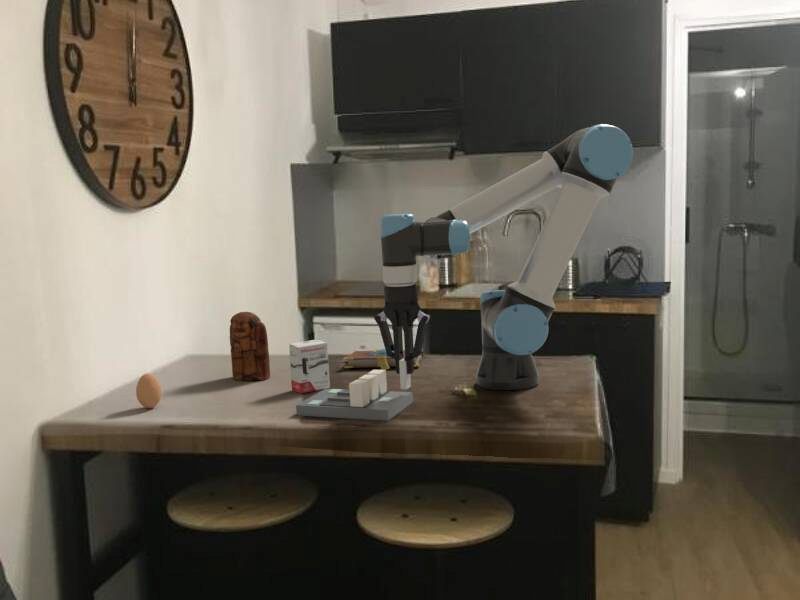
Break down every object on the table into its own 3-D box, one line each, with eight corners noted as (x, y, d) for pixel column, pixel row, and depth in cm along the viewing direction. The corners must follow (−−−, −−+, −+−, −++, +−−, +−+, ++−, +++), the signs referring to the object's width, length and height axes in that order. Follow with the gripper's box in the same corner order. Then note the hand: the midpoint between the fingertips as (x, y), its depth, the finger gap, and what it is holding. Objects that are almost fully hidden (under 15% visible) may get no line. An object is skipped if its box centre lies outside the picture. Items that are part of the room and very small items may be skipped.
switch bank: (413, 402, 194) (412, 389, 193) (388, 420, 180) (387, 406, 180) (326, 397, 202) (325, 385, 201) (296, 415, 188) (295, 402, 188)
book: (340, 363, 246) (339, 346, 245) (425, 361, 242) (424, 344, 242) (327, 373, 230) (326, 355, 229) (418, 371, 226) (417, 352, 225)
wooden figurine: (225, 381, 225) (219, 314, 223) (236, 375, 231) (231, 310, 229) (265, 381, 222) (259, 314, 219) (275, 376, 228) (270, 310, 225)
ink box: (300, 394, 207) (297, 346, 205) (291, 390, 211) (288, 343, 209) (331, 387, 212) (327, 341, 210) (321, 384, 216) (318, 338, 214)
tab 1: (369, 402, 186) (368, 380, 185) (363, 407, 182) (361, 384, 182) (357, 401, 187) (355, 379, 186) (350, 406, 184) (349, 383, 183)
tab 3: (387, 391, 195) (385, 369, 194) (380, 395, 192) (379, 373, 191) (375, 390, 196) (373, 369, 195) (368, 394, 193) (367, 373, 192)
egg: (142, 405, 204) (139, 371, 203) (166, 404, 204) (162, 370, 203) (134, 411, 199) (130, 377, 198) (158, 410, 199) (155, 376, 197)
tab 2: (378, 396, 190) (377, 375, 190) (372, 400, 187) (370, 378, 186) (366, 396, 191) (365, 374, 191) (359, 400, 188) (358, 378, 187)
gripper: (433, 281, 189) (438, 384, 192) (379, 281, 194) (385, 382, 197) (422, 286, 182) (427, 393, 185) (366, 286, 187) (372, 390, 190)
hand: (405, 387), depth 191 cm, fingers closed
